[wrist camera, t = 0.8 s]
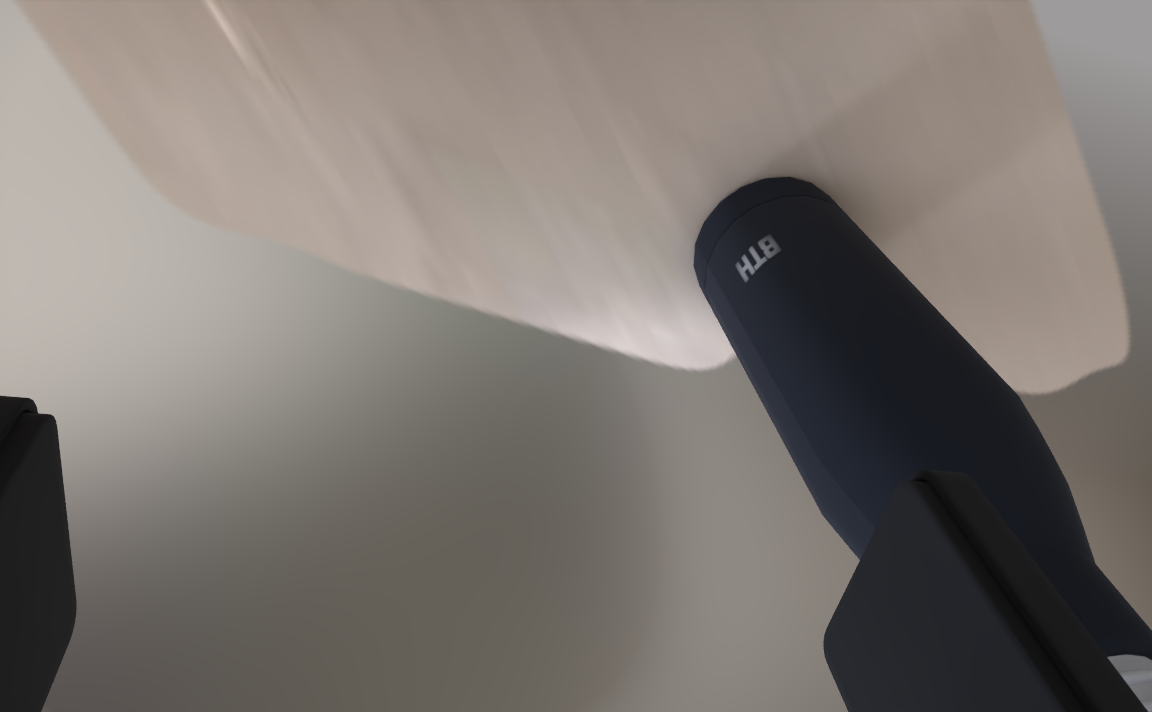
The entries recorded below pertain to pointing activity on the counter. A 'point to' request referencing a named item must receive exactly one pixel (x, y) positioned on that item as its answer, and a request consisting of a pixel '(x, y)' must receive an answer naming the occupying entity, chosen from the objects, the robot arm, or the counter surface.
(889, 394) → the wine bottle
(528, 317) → the counter surface
